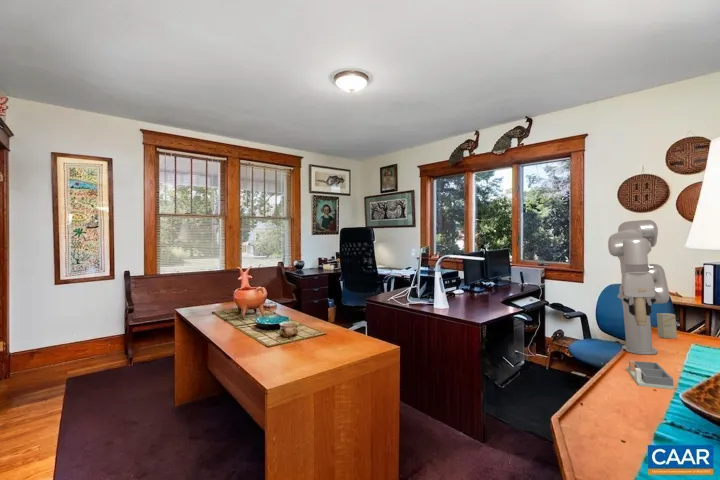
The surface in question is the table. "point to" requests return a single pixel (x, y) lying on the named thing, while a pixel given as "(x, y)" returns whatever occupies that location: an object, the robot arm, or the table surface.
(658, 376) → the grey compartment tray
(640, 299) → the handle
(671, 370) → the table surface
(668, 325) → the skincare box
